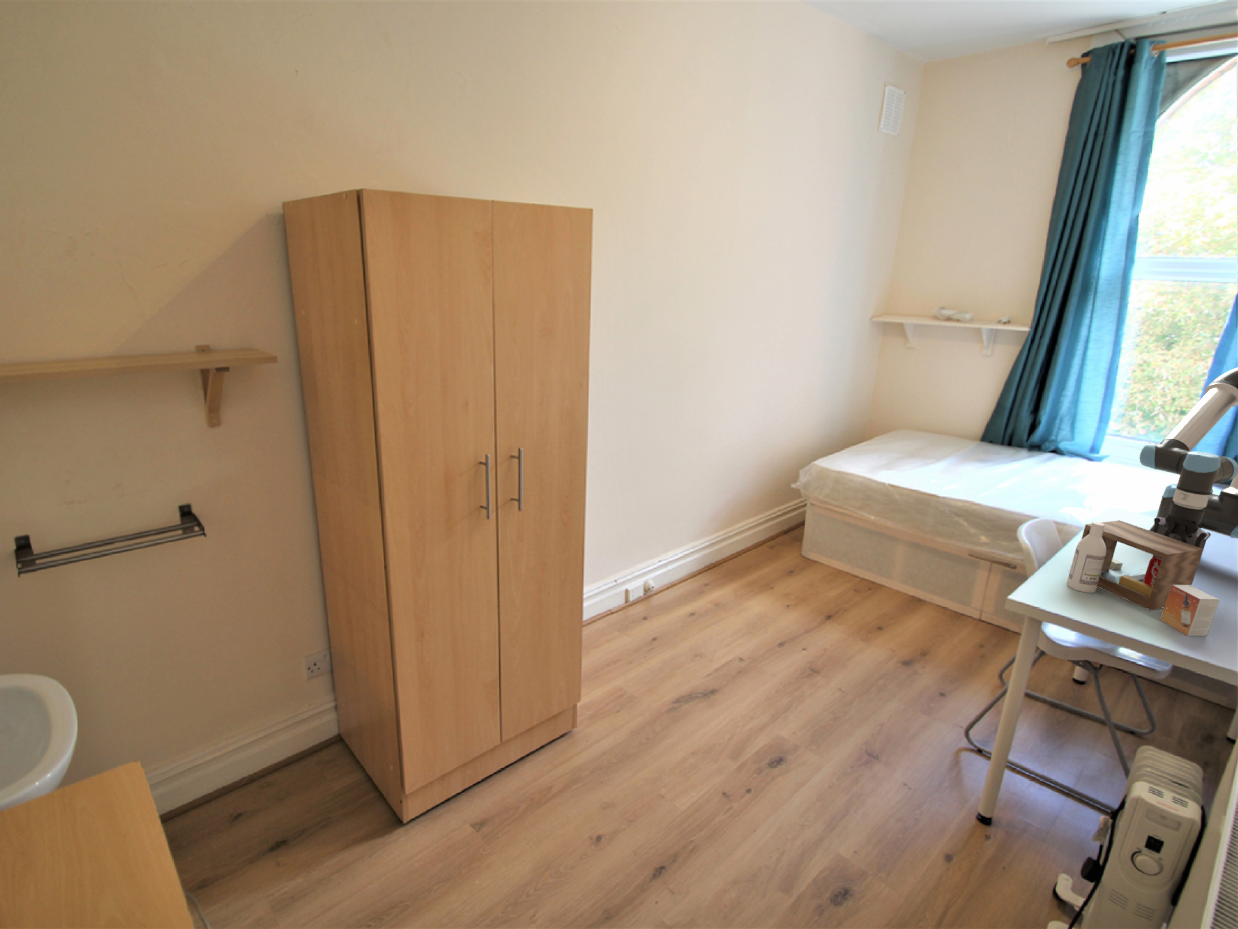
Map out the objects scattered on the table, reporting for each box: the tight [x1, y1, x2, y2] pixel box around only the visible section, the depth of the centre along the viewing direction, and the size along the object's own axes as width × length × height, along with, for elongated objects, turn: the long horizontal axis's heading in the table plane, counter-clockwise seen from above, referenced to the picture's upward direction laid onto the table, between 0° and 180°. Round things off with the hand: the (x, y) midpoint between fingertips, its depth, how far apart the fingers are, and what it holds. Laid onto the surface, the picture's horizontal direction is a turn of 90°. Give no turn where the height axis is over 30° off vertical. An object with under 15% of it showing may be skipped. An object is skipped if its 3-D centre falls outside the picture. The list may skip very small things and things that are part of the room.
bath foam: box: [1066, 521, 1106, 594], centre depth 184 cm, size 7×7×20 cm
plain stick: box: [1110, 557, 1123, 570], centre depth 207 cm, size 13×2×2 cm, turn 8°
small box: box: [1159, 584, 1220, 637], centre depth 165 cm, size 8×6×10 cm
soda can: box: [1143, 555, 1162, 587], centre depth 182 cm, size 7×7×12 cm
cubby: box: [1080, 520, 1204, 611], centre depth 185 cm, size 15×22×16 cm
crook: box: [1117, 573, 1153, 597], centre depth 187 cm, size 21×10×9 cm, turn 110°
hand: (1165, 577), depth 193 cm, fingers closed on crook, 5 cm apart
